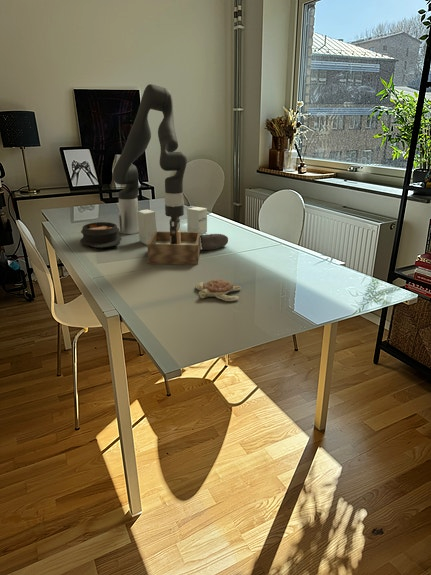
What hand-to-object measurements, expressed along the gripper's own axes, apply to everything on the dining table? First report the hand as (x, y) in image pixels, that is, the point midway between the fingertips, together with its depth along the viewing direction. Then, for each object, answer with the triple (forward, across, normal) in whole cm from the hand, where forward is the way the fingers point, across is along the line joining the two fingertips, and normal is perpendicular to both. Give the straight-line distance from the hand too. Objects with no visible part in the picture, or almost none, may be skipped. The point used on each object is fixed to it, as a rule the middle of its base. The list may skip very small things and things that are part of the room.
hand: (175, 242), depth 176 cm
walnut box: (+6, 0, 0) cm, 6 cm away
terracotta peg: (+5, 0, 0) cm, 5 cm away
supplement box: (+6, -38, +7) cm, 39 cm away
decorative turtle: (+7, +39, +18) cm, 43 cm away
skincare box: (+6, -20, -15) cm, 26 cm away
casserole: (+6, -17, -36) cm, 41 cm away
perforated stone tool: (+6, -12, +16) cm, 21 cm away
